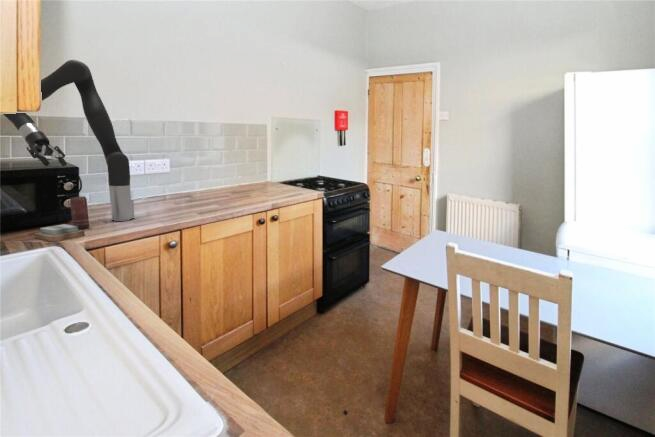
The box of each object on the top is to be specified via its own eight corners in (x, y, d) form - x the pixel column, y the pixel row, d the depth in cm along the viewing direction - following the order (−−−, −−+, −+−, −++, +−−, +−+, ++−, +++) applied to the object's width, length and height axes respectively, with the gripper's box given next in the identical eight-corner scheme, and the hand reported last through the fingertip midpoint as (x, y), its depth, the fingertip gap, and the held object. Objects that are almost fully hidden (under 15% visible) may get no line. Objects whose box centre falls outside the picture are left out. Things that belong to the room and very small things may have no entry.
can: (82, 230, 163) (78, 198, 160) (69, 229, 164) (66, 197, 161) (93, 227, 169) (90, 196, 166) (81, 226, 170) (78, 195, 167)
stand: (66, 232, 158) (65, 223, 157) (84, 235, 153) (83, 226, 152) (34, 238, 147) (33, 228, 147) (53, 241, 142) (51, 231, 142)
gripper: (23, 128, 156) (47, 159, 156) (53, 132, 170) (75, 160, 170) (12, 140, 158) (36, 170, 157) (43, 143, 172) (65, 170, 171)
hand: (56, 165), depth 164 cm, fingers open, 8 cm apart
